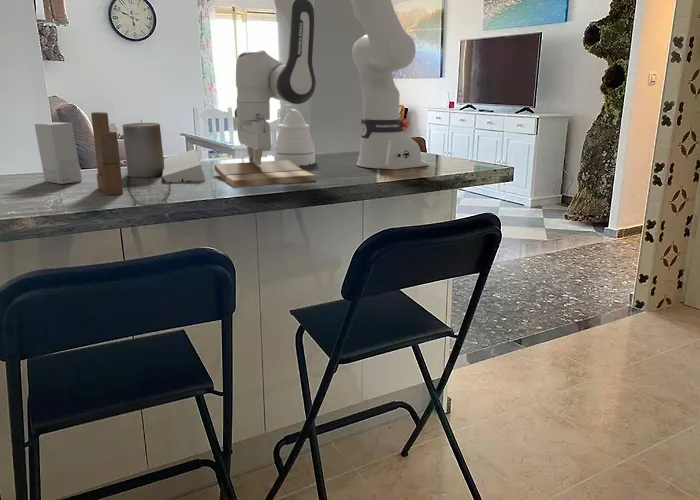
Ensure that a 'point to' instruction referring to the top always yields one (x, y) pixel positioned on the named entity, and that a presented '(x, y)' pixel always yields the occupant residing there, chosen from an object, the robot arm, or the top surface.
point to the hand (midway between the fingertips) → (255, 163)
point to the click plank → (255, 168)
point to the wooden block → (106, 155)
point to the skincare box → (58, 152)
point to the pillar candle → (143, 149)
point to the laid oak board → (269, 178)
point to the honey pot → (294, 139)
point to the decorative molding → (183, 167)
